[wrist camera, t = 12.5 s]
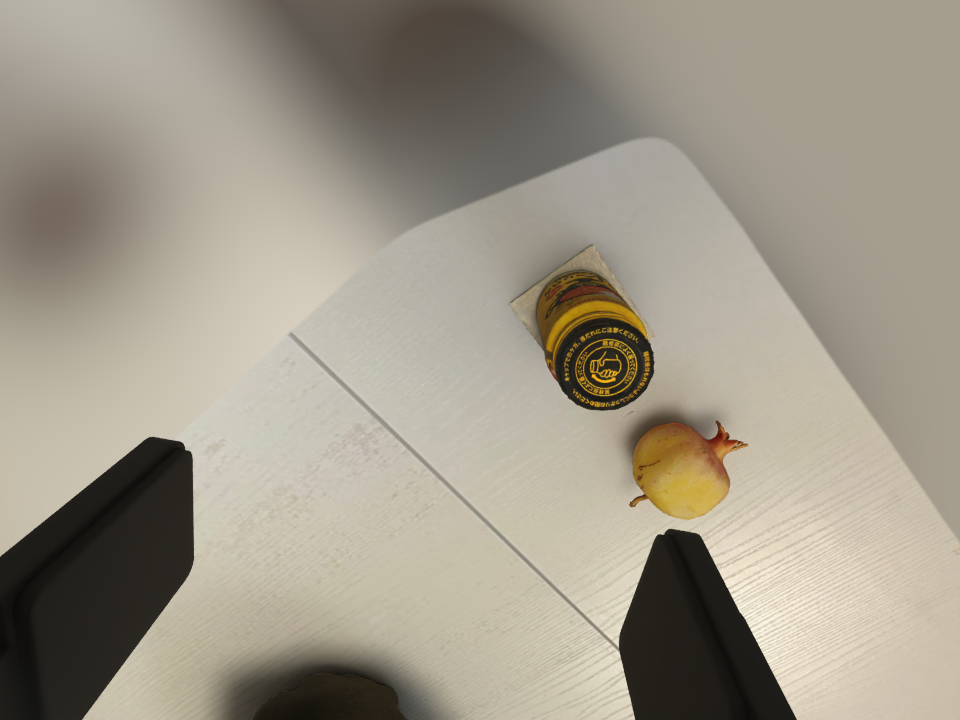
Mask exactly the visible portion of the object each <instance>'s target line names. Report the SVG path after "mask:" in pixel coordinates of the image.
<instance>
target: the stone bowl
mask: <svg viewBox="0 0 960 720" xmlns="http://www.w3.org/2000/svg"><path fill="white" fill-rule="evenodd" d="M397 704H398V696H397V693H396V692H395V691H394V690H393V689H391V688H390V687H387V686H385V685H378V684H376V683H375V682H374V681H373V680H369V679H365V678H361V677H359V676H357V675H355V674H352V673H349V674H344V675H335V674H333V673H318V674H314V675H310V676H308V677H306V678H304V679H303V680H302V682H301V683H300V685H299V686H298V687H297V688H296V690H295V691H292V692H291V691H290V690H287V691H281V692H279V693H277V694H276V695H275V696H274V697H271V698H269V699H268V700H267V701H266V702H265V703H264V704H263V705H262V706H261V707H260V708H259V709H258V710H257V712H256V713H255V714H254V716H253V719H252V720H407V719H406V718H405V717H404V715H403V714H402V713H401V712H400V710H399V709H398V706H397Z"/></svg>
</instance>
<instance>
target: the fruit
mask: <svg viewBox="0 0 960 720" xmlns="http://www.w3.org/2000/svg"><path fill="white" fill-rule="evenodd" d="M716 423H717V425H718V433H717V435H716V436H715V437H714V438H712V439H710V440H706V439H704V438H703V437H702V436H701V435H700V434H699V433H698V432H697V431H695V430H694V429H693V428H691V427H689V426H686V425H683V424H680V423H670V424H663V425H659V426H656V427H654V428H653V429H651V430H650V431H648V432H647V433H646V434H645V435H643V436H642V437H641V439H640V440H639V442H638V444H637V446H636V448H635V450H634V453H633V461H632V463H633V475H634V479H635V481H636V483H637V484H638V486H639V487H640V489H641V490H642V491H643V492H644V493H645V494H644V495H642V496H639V497H636V498H635V499H634V500H633V501H632V502H630V504H629V505H630V507H635V506H636V504H637V503H638V502H639V501H642V500H646V499H648V498H649V500H650V501H651V502H652V503H653V504H654V505H655V506H656V507H657V508H658V509H659V510H660V511H662V512H663V513H665V514H667V515H669V516H672V517H676V518H680V519H687V520H689V519H693V518H696V517H699V516H702V515H705V514H706V513H708V512H709V511H710V510H712V509H713V508H714V507H715V506H716V505H717V504H719V503H720V502H721V501H722V500H723V499H724V498H725V497H726V496H727V494H728V491H729V488H730V479H729V477H728V474H727V472H726V469H725V467H724V465H723V458H724V456H725V455H726V454H727V453H729V452H731V451H735V450H737V449H740V448H743V447H746V446H748V444H743V442H741V441H738V440H728V439H729V434H728V433H727V432H726V433H725V430H724V428H723V427H722V426H721V424H720V423H719V422H718V421H716ZM739 444H742V445H740V446H738V447H736V446H737V445H739Z"/></svg>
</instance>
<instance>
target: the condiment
mask: <svg viewBox="0 0 960 720" xmlns="http://www.w3.org/2000/svg"><path fill="white" fill-rule="evenodd" d="M509 306H510V307H511V308H512V309H513V311H514V312H515V313H516V315H517V316H518V317H519V319H520V320H521V321H522V323H523V324H524V325H525V327H526V328H527V329H528V330H529V332H530V333H531V334H532V336H533V337H534V338H535V340H536V341H537V342H538V344H539V345H540V346H541V348H542V349H543V350H544V353H545V360H546V362H547V366H548V368H549V370H550V372H551V373H552V375H553V377H554V378H555V379H556V381H558V383H559V385H560V387H561V389H562V391H563V392H564V393H565V394H566V395H567V396H568V398H569V399H570V400H572V401H573V402H575V404H577V405H580V406H581V407H583V408H586V409H590V410H601V411H603V410H616V409H619V408H621V407H624V406H626V405H628V404H629V403H631V402H633V401H635V400H636V399H637V398H638V397H639V396H640V395H641V394H642V393H643V392H644V391H645V390H646V389H647V387H648V384H649V382H650V380H651V378H652V376H653V374H654V360H653V359H654V357H653V353H654V352H653V351H652V349H651V347H650V346H651V344H650V343H649V342H648V341H649V340H651V339H652V338H654V337H655V335H654V334H653V332H652V331H651V329H650V328H649V326H648V325H647V323H646V322H645V321H644V319H643V318H642V316H641V315H640V313H639V312H638V310H637V309H636V307H635V306H634V304H633V303H632V301H631V300H630V298H629V297H628V296H627V294H626V293H625V291H624V290H623V288H622V287H621V285H620V284H619V282H618V281H617V279H616V278H615V276H614V275H613V273H612V272H611V271H610V269H609V268H608V266H607V265H606V263H605V262H604V260H603V259H602V257H601V256H600V254H599V253H598V251H597V250H596V248H595V247H594V245H591V246H590V247H588V248H587V249H586V250H584V251H583V252H581V253H580V254H578V255H577V256H576V257H574V258H573V259H571V260H570V261H568V262H567V263H566V264H564V265H563V266H561V267H560V268H558V269H557V270H556V271H554V272H553V273H551V274H550V275H549V276H547V277H546V278H545V279H543V280H542V281H540V282H539V283H538V284H536V285H535V286H533V287H532V288H531V289H529V290H528V291H527V292H526V293H524V294H523V295H521V296H520V297H519V298H517V299H516V300H514V301H513V302H511V303H510V304H509Z"/></svg>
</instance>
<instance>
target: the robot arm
mask: <svg viewBox="0 0 960 720" xmlns="http://www.w3.org/2000/svg"><path fill="white" fill-rule="evenodd" d="M193 561H194V527H193V458H192V454H191V452H190V451H187V450H185V446H184V444H183V443H182V442H179V441H174V440H167V439H162V438H156V437H149V438H147V439H146V440H144V441H143V442H142V443H141V444H139V445H138V446H137V447H136V448H134V449H133V450H132V451H131V452H129V453H128V454H127V455H126V456H125V457H123V458H122V459H121V460H119V461H118V462H117V463H116V464H115V465H113V466H112V467H111V468H110V469H108V470H107V471H106V472H105V473H103V474H102V475H101V476H100V477H98V478H97V479H96V480H95V481H93V482H92V483H91V484H90V485H88V486H87V487H86V488H85V489H84V490H82V491H81V492H80V493H79V494H77V495H76V496H75V497H74V498H72V499H71V500H70V501H69V502H67V503H66V504H65V505H64V506H62V507H61V508H60V509H59V510H58V511H56V512H55V513H54V514H53V515H51V516H50V517H49V518H48V519H46V520H45V521H44V522H43V523H41V524H40V525H39V526H38V527H37V528H35V529H34V530H33V531H32V532H30V533H29V534H28V535H27V536H25V537H24V538H23V539H22V540H20V541H19V542H18V543H17V544H15V545H14V546H13V547H12V548H10V549H9V550H8V551H7V552H5V553H4V554H3V555H2V556H1V557H0V720H82V719H83V718H84V716H85V715H86V714H87V712H88V711H89V710H90V708H91V707H92V706H93V704H94V703H95V701H96V700H97V699H98V697H99V696H100V695H101V693H102V692H103V691H104V689H105V688H106V687H107V685H108V684H109V683H110V681H111V680H112V678H113V677H114V676H115V674H116V673H117V672H118V670H119V669H120V668H121V666H122V665H123V664H124V662H125V661H126V660H127V658H128V657H129V656H130V654H131V653H132V651H133V650H134V649H135V647H136V646H137V645H138V643H139V642H140V641H141V639H142V638H143V637H144V635H145V634H146V633H147V631H148V630H149V629H150V627H151V626H152V624H153V623H154V622H155V620H156V619H157V618H158V616H159V615H160V614H161V612H162V611H163V610H164V608H165V607H166V606H167V604H168V603H169V602H170V600H171V599H172V597H173V596H174V595H175V593H176V592H177V591H178V589H179V588H180V587H181V585H182V584H183V583H184V581H185V580H186V578H187V577H188V575H189V573H190V571H191V569H192V566H193ZM619 650H620V655H621V660H622V664H623V668H624V673H625V677H626V681H627V685H628V690H629V694H630V698H631V703H632V707H633V711H634V716H635V720H797V719H796V717H795V715H794V713H793V711H792V709H791V707H790V706H789V704H788V702H787V700H786V698H785V696H784V694H783V692H782V690H781V688H780V686H779V684H778V682H777V680H776V678H775V676H774V674H773V673H772V671H771V669H770V667H769V665H768V663H767V661H766V659H765V657H764V655H763V653H762V651H761V649H760V647H759V645H758V643H757V641H756V640H755V638H754V636H753V634H752V632H751V630H750V628H749V626H748V624H747V622H746V620H745V619H744V617H743V616H742V614H741V613H740V612H739V610H738V608H737V606H736V604H735V602H734V600H733V598H732V596H731V594H730V592H729V590H728V588H727V587H726V585H725V583H724V581H723V579H722V577H721V575H720V573H719V571H718V569H717V567H716V565H715V563H714V561H713V559H712V557H711V555H710V553H709V551H708V549H707V547H706V545H705V543H704V542H703V540H702V538H701V536H700V535H699V534H697V533H692V532H686V531H680V530H675V529H668V530H667V531H666V532H665V534H664V535H661V534H659V535H657V536H656V538H655V540H654V543H653V545H652V548H651V551H650V553H649V556H648V559H647V562H646V564H645V567H644V570H643V572H642V575H641V578H640V580H639V583H638V586H637V589H636V591H635V594H634V597H633V599H632V602H631V605H630V607H629V610H628V613H627V616H626V618H625V621H624V624H623V626H622V629H621V632H620V637H619Z"/></svg>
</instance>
